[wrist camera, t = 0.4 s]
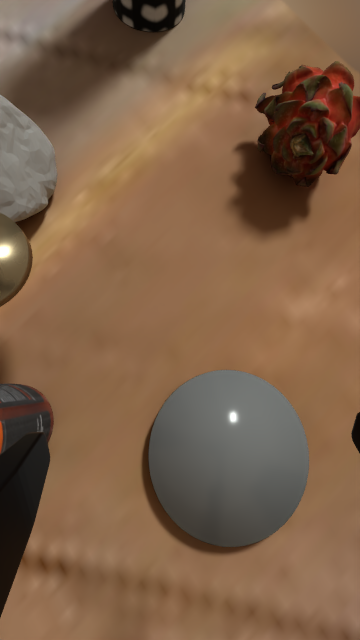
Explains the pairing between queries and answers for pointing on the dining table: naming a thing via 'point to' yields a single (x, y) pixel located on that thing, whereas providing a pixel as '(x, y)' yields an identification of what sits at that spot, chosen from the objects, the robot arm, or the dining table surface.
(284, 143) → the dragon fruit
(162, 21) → the white-spotted black cylinder
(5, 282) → the balance
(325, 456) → the dining table surface
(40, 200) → the decorative stone
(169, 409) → the slate dish
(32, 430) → the supplement bottle
